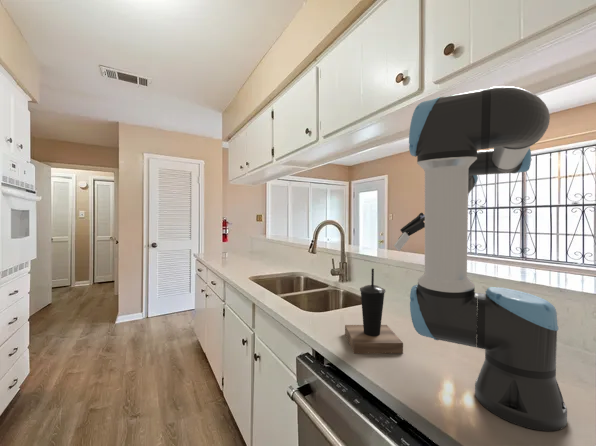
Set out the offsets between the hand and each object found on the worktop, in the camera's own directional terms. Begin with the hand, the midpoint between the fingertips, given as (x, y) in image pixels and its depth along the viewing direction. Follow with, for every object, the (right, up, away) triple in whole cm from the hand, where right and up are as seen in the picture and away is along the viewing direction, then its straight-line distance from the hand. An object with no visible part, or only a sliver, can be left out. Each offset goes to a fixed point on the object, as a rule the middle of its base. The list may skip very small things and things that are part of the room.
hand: (411, 250), depth 94 cm
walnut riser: (-14, -28, -5) cm, 32 cm away
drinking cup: (-14, -25, -5) cm, 29 cm away
